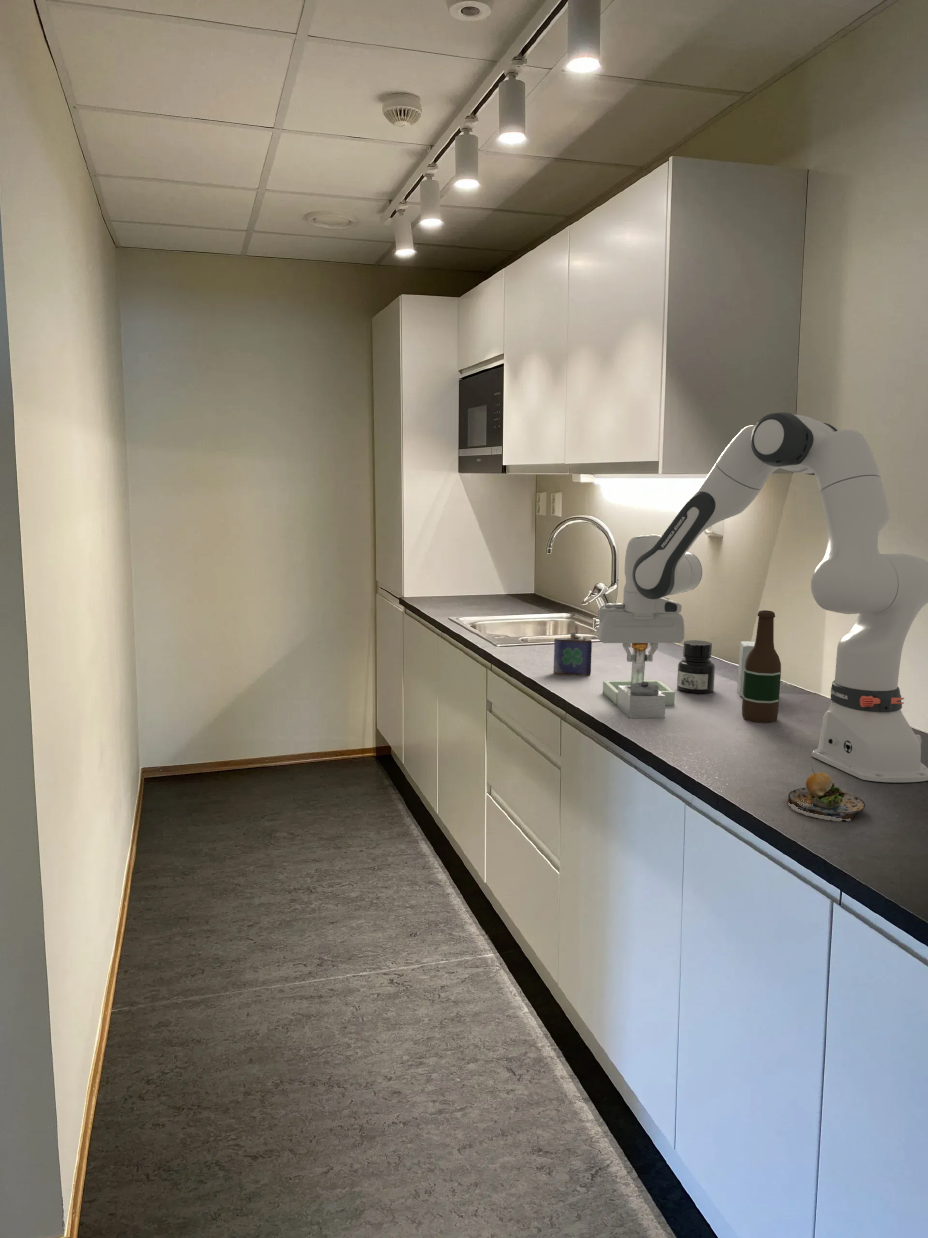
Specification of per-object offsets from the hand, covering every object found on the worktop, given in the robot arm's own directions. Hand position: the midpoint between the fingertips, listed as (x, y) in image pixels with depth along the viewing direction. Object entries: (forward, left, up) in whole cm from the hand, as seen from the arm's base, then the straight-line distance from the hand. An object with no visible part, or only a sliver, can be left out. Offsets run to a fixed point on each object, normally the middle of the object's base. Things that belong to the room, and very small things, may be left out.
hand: (639, 661), depth 221 cm
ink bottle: (+8, -17, -9) cm, 21 cm away
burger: (-73, -10, -10) cm, 74 cm away
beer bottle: (-19, -22, -9) cm, 30 cm away
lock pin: (+1, 0, -8) cm, 8 cm away
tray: (0, 0, -9) cm, 9 cm away
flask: (+27, +10, -9) cm, 30 cm away
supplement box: (+3, -30, -9) cm, 32 cm away
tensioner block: (-12, +3, -9) cm, 16 cm away
